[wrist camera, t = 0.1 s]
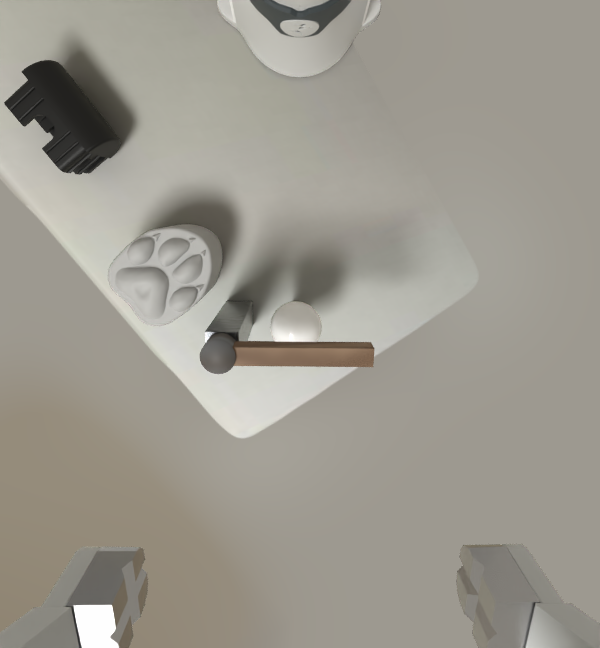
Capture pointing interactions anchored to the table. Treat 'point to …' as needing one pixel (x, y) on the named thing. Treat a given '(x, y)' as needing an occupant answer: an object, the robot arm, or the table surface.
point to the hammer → (282, 353)
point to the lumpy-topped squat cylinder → (166, 271)
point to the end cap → (63, 118)
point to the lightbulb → (295, 323)
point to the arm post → (233, 321)
